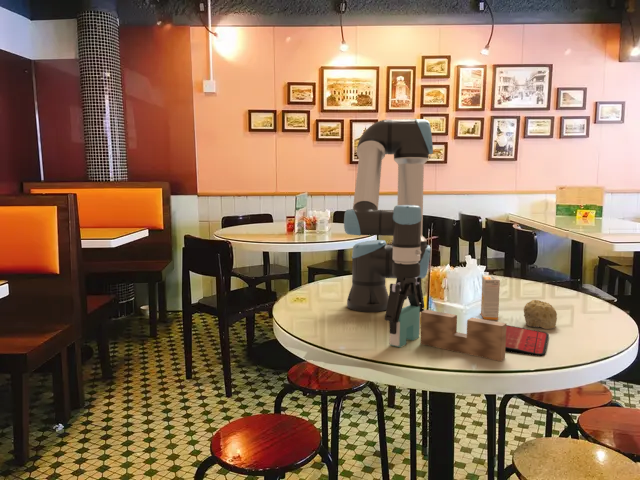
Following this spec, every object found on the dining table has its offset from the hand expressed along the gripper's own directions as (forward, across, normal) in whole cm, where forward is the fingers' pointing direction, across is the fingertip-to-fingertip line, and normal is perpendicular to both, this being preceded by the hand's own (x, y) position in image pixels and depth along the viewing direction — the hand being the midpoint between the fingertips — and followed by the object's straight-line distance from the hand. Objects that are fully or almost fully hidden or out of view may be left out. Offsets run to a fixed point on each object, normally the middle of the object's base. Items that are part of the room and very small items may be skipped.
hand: (404, 339), depth 143 cm
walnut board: (+1, +2, -16) cm, 16 cm away
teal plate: (+1, 0, 0) cm, 1 cm away
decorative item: (+1, +39, -26) cm, 47 cm away
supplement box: (+1, +39, -10) cm, 40 cm away
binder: (+1, +19, -25) cm, 31 cm away
